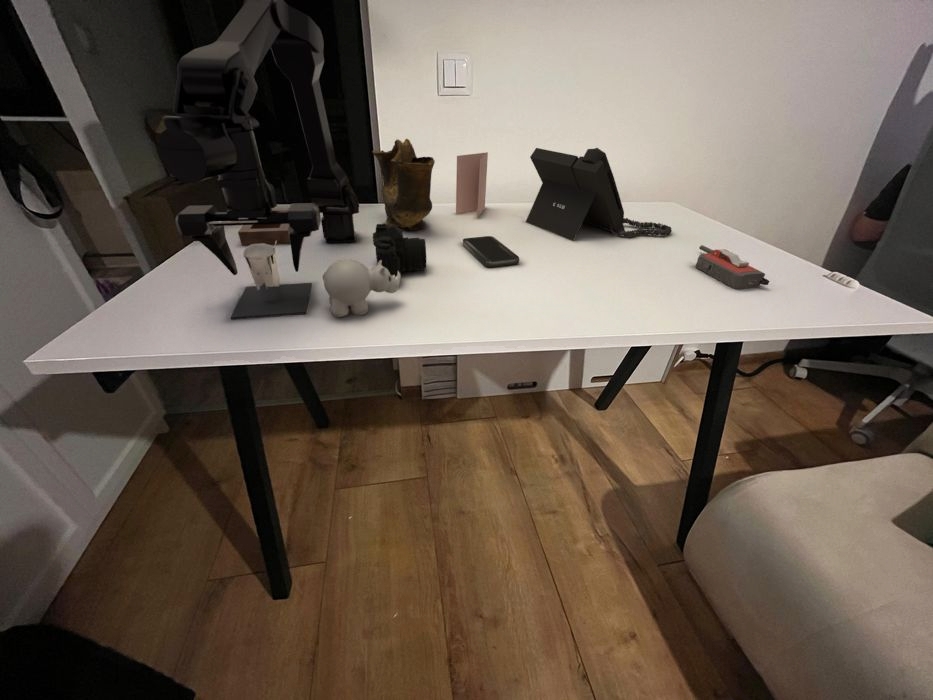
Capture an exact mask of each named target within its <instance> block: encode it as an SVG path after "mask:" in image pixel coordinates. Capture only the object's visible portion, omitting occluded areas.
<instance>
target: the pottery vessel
mask: <svg viewBox="0 0 933 700" xmlns="http://www.w3.org/2000/svg"><path fill="white" fill-rule="evenodd" d="M372 154H373V156H374V157H375V158H376V159H377V161H378V164H379V169H380V173H381V178H382V188H381V194H382V200H383V204H384V211H385V215H386V220H385V224H386V225H388V226H390V225H395V226H397V227H399V228H400V229H405V228H408V230H409V231H411V232H412V231H413V230H414V231H418V230H422V229H424V228H425V226H426V223H425V222H424V220H423V219H425V218H427V216H429V214H430V213H431V211H432V210H433V201H432V200H431V188H432V187H431V186H432V173H433V168H434V165H435V163H436V161H435V159H434V157H433V156H421V157H417V154H416V152H415V148H414V146H413V143H412V142H411V141H410V139H409V138H407V137H406V138H405V140H404V141H401V139H399V138H398V139H396V140H395V141H394V145H393V146H392V149H391V150H388V151H385V150H380V151H379V150H372Z"/></svg>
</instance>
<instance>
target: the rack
mask: <svg viewBox="0 0 933 700" xmlns="http://www.w3.org/2000/svg"><path fill="white" fill-rule="evenodd" d="M287 210H289V207H286V208H285V207H283V208H278V207H277V208H272V211H287ZM265 218H267V217H265ZM291 229H292V228H291V227H290V226H289V224H263V225H241V227H240V228H239V230H238V231H237V234H238V238H239V240H240V241H239V242H240V245H241V246H249V245H251V244H261V243H264V244H268V245H275V241H276V240H277V242H276V245H291V244H290V236H289V234H290V232H291Z"/></svg>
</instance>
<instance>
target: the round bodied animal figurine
mask: <svg viewBox="0 0 933 700" xmlns="http://www.w3.org/2000/svg"><path fill="white" fill-rule="evenodd" d="M381 263H382V260H380V261H379V262H378V264H377V263H376V265H375V266H372V267H371V268H367V267H366V266H365V265H364V264H363V263H362V262H360V261H358V260H356V259H353V258H341V259H337V260H335V261H333V262H332V263H331V264H330V265H329V266H328V267H327V269H326V271H325V272H324V273H323V274H322V280H323V285H324V288H325V291H326V293H327V295H328V296H329V298H328V299H329V300H328V301H329V305H330V309H331V313H332V315H333V316H334V317H337V318H342V317H345V316H347V315H348V314H349V313H350V311H351V313H352V314H353V315H356V316H362V315H365V314H366V313H368V311H369V305H368V302H367V300H366V299H367V298H368V296H369V294H370V293H371V291H373V292H375V293H382V292H386V293H389V294H393V293H396V292H397V291H398V290H399V288H400V281H401V278H402V275H401V273H399V271H398V274H397V276H396V277H395V275H393V276H391V274H390V273H389V271H388V270H387V269H386V268H385V267H383V266H382V265H381Z"/></svg>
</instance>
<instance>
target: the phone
mask: <svg viewBox="0 0 933 700" xmlns="http://www.w3.org/2000/svg"><path fill="white" fill-rule="evenodd" d="M462 246H463V247H464V248H465V249H466V250H468V251H469V252H470V253H471V255H472V256H474V258H476V259H477V260H478V261H479V262H480V263H481V264H482V265H483V266H484V267H486V268H497V267H505V266H514V265H518V264H519V263H520V256H519V255H517V254H516V253H515V252H514V251H512V250H511V249H510V248H509V247H507V246H506V245H505V244H503V243H502V242H500V240H498V239H497V238H496V237H494V236H491V235H485V236H476V237H475V236H473V237H466V238H463V239H462Z"/></svg>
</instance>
